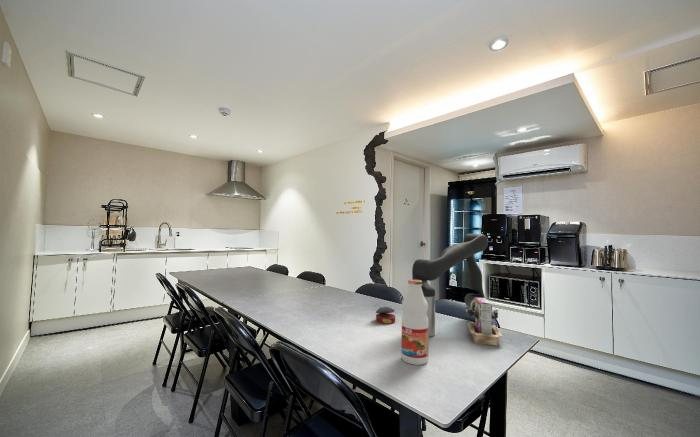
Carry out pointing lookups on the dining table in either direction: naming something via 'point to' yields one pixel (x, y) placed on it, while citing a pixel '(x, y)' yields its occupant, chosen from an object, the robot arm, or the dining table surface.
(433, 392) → the dining table surface
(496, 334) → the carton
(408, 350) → the fruit juice
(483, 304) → the candy bar box
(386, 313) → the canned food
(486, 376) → the dining table surface
